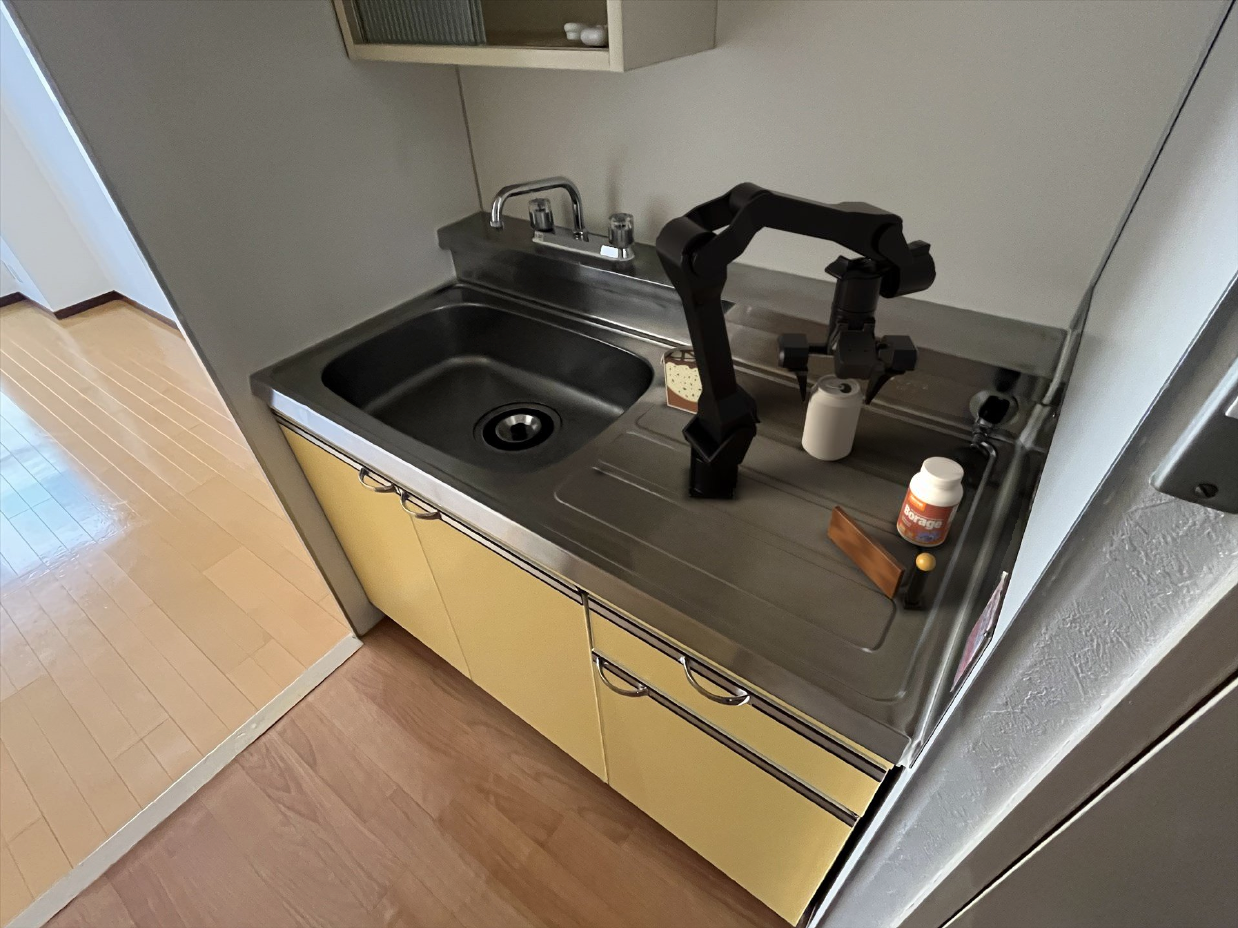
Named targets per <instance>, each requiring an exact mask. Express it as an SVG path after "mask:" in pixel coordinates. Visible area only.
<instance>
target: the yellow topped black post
mask: <svg viewBox="0 0 1238 928" xmlns="http://www.w3.org/2000/svg"><path fill="white" fill-rule="evenodd" d="M915 563H916V565H915V568H914V570H913V573H912V576H911V579H910V581H909V583H908V584H909V585H908V587H907V590H906V592H903V591H902V592H901V593H900V596H899V597H900V601H901V605H902V608H903V610H907V611H908V610H910V611H922V609H923V602H922V600H921V598H922V596H923V593H924V590H925V588H926V586H927V582H928V579H929V578H930V575H931V572H932V570H933V569H934V568H935V567H936V564H937V561H936V558H935V557H934V556H933V555H932V554H930V553H928V552H922V553H920V554H918V555H917V557H916V560H915Z"/></svg>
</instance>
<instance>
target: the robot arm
mask: <svg viewBox="0 0 1238 928" xmlns="http://www.w3.org/2000/svg"><path fill="white" fill-rule="evenodd" d="M903 223H904V219H903V218H902V217H901V216H900V215H899V214H896V213H894V212H891V211H889V210H886V209H883V208H881V207H879V206H875V205H873V204H871V203H868V202H866V201H841V202H839V203H826V202H822V201H817V200H813V199H810V198H806V197H801V196H797V195H793V194H789V193H786V192H781V191H777V190H772V189H770V188H766V187H762V186H760V185H757V184H756V183H753V182H751V181H745V182H741V183H740V182H739V183H738V184H736V185H735V186H733V187H731V189H729V190H728V191H727V192H725V193H723V194H722V195H720V196H718V197H715V198H713V199H710V200H708V201H705V202H703V203H700V204H699V205H696V206H694V207H692V208H691V209H690V210H688V211H686V213H684V214H683V215H682V216H678V217H675V218H672V219H671V220H668V222H666V223H665V225H664V226H663V227H662V228H661V229H660V232H659V234H658V235H657V236H656V237H655V253H656V255H657V257H658V260H659V262H660V264H661V267H662V269H663V270H664V273H665V275H666V276H667V278H668V280H669V282H670V283H671V285H672V287H673V288H674V290H675V291H676V294H678V296H679V298H680V300H681V304H682V309H683V313H684V317H685V321H686V326H687V330H688V334H689V338H690V341H691V342H690V343H691V345H692V347H693V351H694V356H695V360H696V364H697V368H698V373H699V377H700V381H701V385H702V392H701V394H700V396H699V399H698V401H697V405H698V412H697V414H694V416H693V417H692V418H691V419H690V420H689V421H688V423H687V424H686V425H685V426H684V427H683V429H682V430H681V433H682V435H683V438H684V440H685V441H686V442H687V443H688V444H689V445H690V462H689V463H690V464H689V469H688V489H687V490H688V491H687V495H688V497H689V498H693V499H694V498H695V499H714V500H715V499H717V500H733V499H734V489H737V487H738V478H739V477H738V475H739V465H742V463H743V462H744V460H745V457H746V455H747V453H748V451H749V450H750V446H751V445H752V442H753V439H754V438H755V437H756V436H757V433H758V424H761V423H762V421H761V420H760V418H759V416H758V404H757V403H758V402H757V400H756V398H755V397H754V396H753V395H751V393H749V392H748V390H746V389H745V388H744V387H743V386H741V385H740V384H739V383H738V382H737V376H736V372H735V366H734V361H733V356H732V350H731V344H730V339H729V334H728V329H727V324H726V323H727V322H726V319H725V318H726V317H725V313H724V312H725V311H724V307H723V303H722V302H723V301H722V293H723V291H724V288H725V285H726V283H727V280H728V277H729V276H728V273H729V271H728V269H729V268H728V265H729V264H731V263H733V262H734V261H735V260H736V259H738V258H739V257H740V256H741V255H743V254H744V252H745V251H746V250H747V248H748V246H749V245H750V243H751V242H752V240H753V239H754V238H755V236H756V234H757V233H759V232H760V231H761V230H762V229H765V228H768V229H772V230H776V231H782V232H787V233H791V234H795V235H801V236H805V237H811V238H813V239H814V238H815V239H819V240H824V241H829V242H833V243H835V244H837V245H839V246H841V247H842V248H844V249H847V250H849V251H851V252H853V253H855V254H858V255H859V256H857V257H853V258H848V257H846V256H844V255H842V254H839V255H838V256H837V258H836V259H835V260H833V261H832V262H830V263H829V264H827V266H825V267H824V269H823V270H824V273H825V274H826V275H829V276H831V277H833V278H834V279H836V282H835V287H834V293H833V299H832V302H831V305H830V315H829V320H828V326H827V329H826V333H825V334H826V335H825V342H808V338H807V334H806V332H805V333H803V332H801V333H799V332H781V333H780V334H779V335H778V336H777V337H776V340H775V355H776V361H777V366H778V367H780V368H782V369H786V371H787V372H789V373H794V376H795V377H796V379H797V383H798V388H799V393H800V398H801V402H802V403H804V404H805V403H806V400H807V395H808V392H807V391H808V374H809V367H808V363H809V359H810V357H813V358H833V366H834V375H835V376H836V377H837V378H839V379H843V380H846V379H854V380H861V381H868V382H867V386H866V390H865V397H864V403H865V405H866V406H868V405H871V403H872V401H873V400H874V399H875V397H877V395H878V393H879V392H880V390H881V389H882V388H883V387H884V386H885V385H886V383H887V382H888V381H889V380H890V379H891V378H893V377H896V376H904V375H905V374H906V373H907V372H914V371H916V370H917V369H918V366H919V362H920V351H919V349H918V347H917V346H916V343H915V342H914V340H913V339H912V337H911V336H910V335H909V334H908V335H907V334H906V335H905V334H884V335H883V336H882V337H881V339H876V333H875V330H876V322H877V321H876V313H877V310H878V305H879V299H880V297H881V298H883V299H886V300H889V299H895V298H899V297H903V296H907V295H912V294H916V293H921V292H924V291H927V290H928V289H929V288H930V287H932V285H933V284H934V282H935V280H936V278H937V271H936V264H935V260H934V257H933V256H932V254H931V253H930V250H931V246H932V244H931V243H930V242H926V241H924V240H923V239H917V240H913V241H911V242H909V243H908V242H907V240H906V236H905V234H904V225H903ZM725 227H726V228H725ZM723 228H725V229H723ZM720 229H723V230H722V231H720V232H719V233H716V232H715V231H718V230H720Z"/></svg>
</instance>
